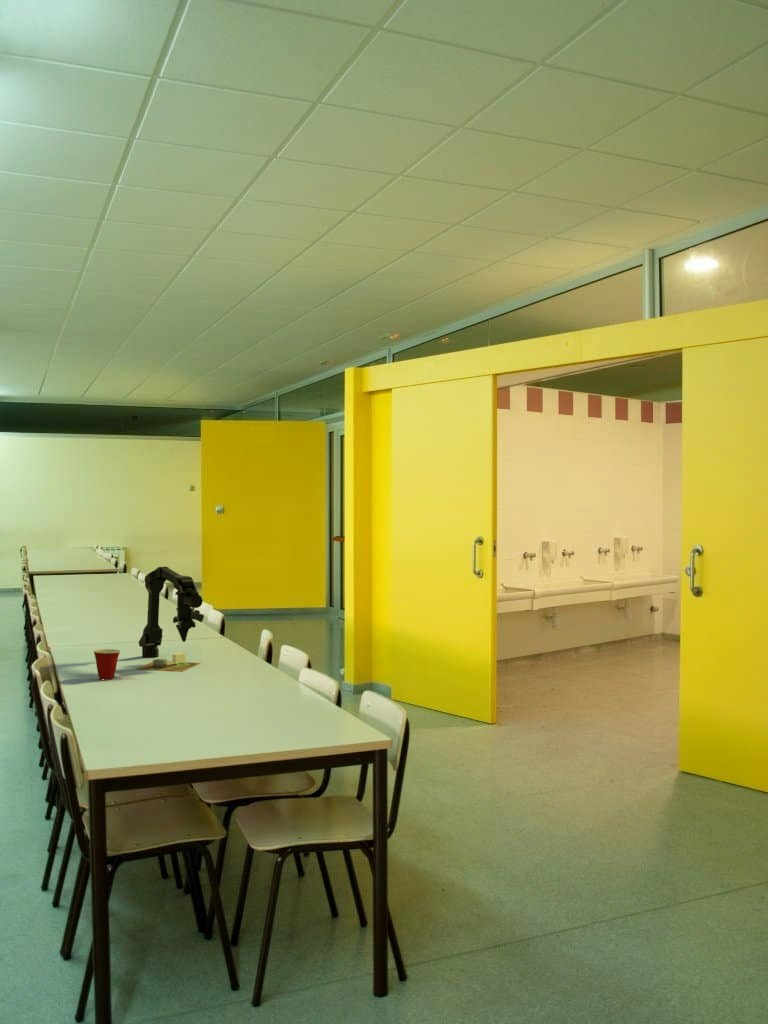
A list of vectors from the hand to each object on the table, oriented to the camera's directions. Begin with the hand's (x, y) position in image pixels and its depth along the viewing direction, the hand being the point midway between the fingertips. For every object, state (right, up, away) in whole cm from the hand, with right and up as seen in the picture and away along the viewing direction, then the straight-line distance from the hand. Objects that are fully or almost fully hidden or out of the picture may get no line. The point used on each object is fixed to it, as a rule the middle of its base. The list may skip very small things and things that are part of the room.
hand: (183, 641), depth 374 cm
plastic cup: (-27, -12, -22) cm, 36 cm away
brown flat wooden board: (-7, -12, 0) cm, 14 cm away
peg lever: (-7, -10, +2) cm, 13 cm away
